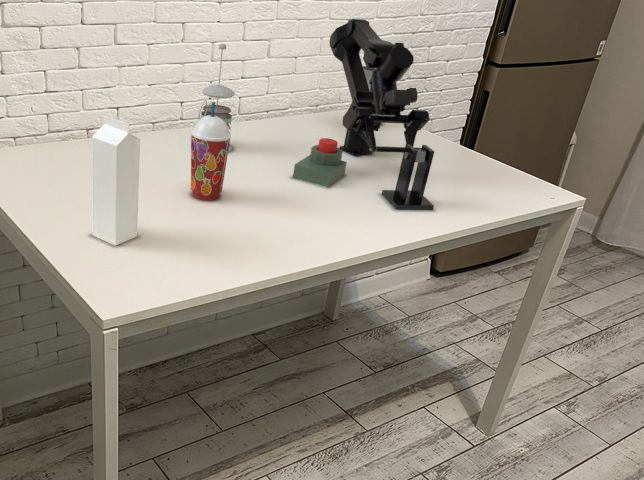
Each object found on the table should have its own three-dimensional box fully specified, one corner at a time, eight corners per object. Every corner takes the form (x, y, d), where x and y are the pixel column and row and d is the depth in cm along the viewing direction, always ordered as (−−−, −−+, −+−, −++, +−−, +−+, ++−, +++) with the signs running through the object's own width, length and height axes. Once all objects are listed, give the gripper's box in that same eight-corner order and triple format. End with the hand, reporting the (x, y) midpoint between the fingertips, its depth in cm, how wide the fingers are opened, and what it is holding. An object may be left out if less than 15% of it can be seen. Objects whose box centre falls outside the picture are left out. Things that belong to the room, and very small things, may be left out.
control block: (311, 165, 184) (315, 141, 181) (345, 174, 181) (349, 150, 178) (292, 178, 175) (296, 153, 172) (327, 187, 172) (331, 162, 169)
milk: (114, 227, 143) (116, 112, 131) (137, 237, 140) (141, 120, 128) (91, 235, 138) (91, 117, 126) (115, 246, 136) (117, 126, 124)
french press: (239, 147, 190) (250, 45, 177) (215, 157, 182) (225, 51, 168) (208, 138, 194) (216, 37, 181) (182, 147, 186) (189, 42, 172)
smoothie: (229, 193, 163) (239, 101, 152) (217, 205, 156) (226, 110, 145) (194, 185, 165) (201, 94, 154) (180, 197, 158) (187, 103, 147)
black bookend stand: (381, 194, 172) (393, 140, 165) (416, 195, 174) (430, 141, 167) (395, 210, 164) (409, 154, 157) (432, 210, 166) (447, 155, 159)
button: (321, 147, 179) (323, 136, 178) (338, 151, 177) (340, 141, 176) (314, 151, 176) (316, 140, 174) (331, 156, 174) (333, 145, 173)
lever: (374, 154, 170) (376, 143, 169) (426, 155, 172) (428, 145, 171) (392, 161, 161) (394, 150, 160) (446, 163, 164) (448, 152, 163)
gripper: (361, 71, 168) (369, 134, 166) (436, 75, 173) (444, 137, 170) (344, 97, 179) (351, 156, 176) (415, 100, 183) (422, 158, 180)
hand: (392, 152), depth 175 cm, fingers open, 9 cm apart
